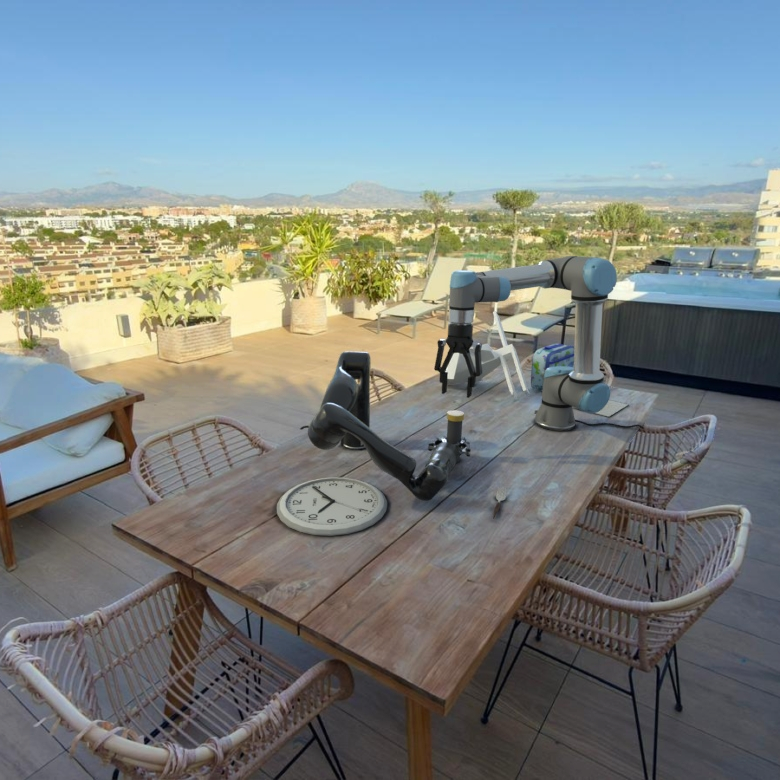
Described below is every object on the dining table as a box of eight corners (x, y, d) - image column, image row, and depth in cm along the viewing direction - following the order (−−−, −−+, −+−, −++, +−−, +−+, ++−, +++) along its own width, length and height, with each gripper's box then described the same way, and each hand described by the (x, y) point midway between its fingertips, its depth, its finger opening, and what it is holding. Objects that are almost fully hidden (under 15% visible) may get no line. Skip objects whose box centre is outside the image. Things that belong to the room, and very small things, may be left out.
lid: (467, 420, 167) (467, 414, 166) (452, 422, 164) (453, 416, 164) (457, 414, 171) (457, 409, 171) (443, 417, 169) (443, 411, 168)
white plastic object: (461, 429, 252) (437, 405, 227) (444, 352, 274) (420, 323, 250) (535, 404, 240) (518, 377, 215) (510, 326, 262) (492, 293, 237)
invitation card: (608, 416, 214) (573, 407, 224) (608, 416, 214) (573, 408, 224) (628, 404, 229) (594, 396, 238) (628, 405, 229) (594, 397, 238)
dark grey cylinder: (462, 461, 171) (465, 415, 166) (450, 464, 169) (453, 417, 164) (454, 455, 175) (457, 411, 170) (442, 458, 173) (445, 413, 168)
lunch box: (547, 395, 239) (552, 351, 233) (526, 390, 247) (530, 347, 240) (574, 384, 257) (579, 343, 251) (554, 380, 264) (558, 339, 258)
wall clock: (392, 527, 129) (268, 531, 127) (391, 533, 130) (269, 537, 127) (383, 473, 158) (282, 475, 155) (383, 478, 158) (282, 480, 156)
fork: (488, 519, 137) (488, 512, 136) (497, 492, 151) (498, 485, 151) (498, 521, 136) (498, 514, 135) (507, 493, 150) (507, 487, 150)
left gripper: (420, 466, 161) (434, 445, 176) (466, 473, 156) (476, 452, 172) (421, 443, 158) (435, 424, 174) (467, 450, 154) (478, 430, 169)
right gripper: (497, 324, 158) (491, 396, 164) (433, 318, 166) (430, 387, 173) (490, 328, 151) (484, 402, 158) (424, 321, 159) (422, 393, 166)
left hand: (455, 438), depth 173 cm, fingers open, 5 cm apart
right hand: (456, 394), depth 165 cm, fingers open, 7 cm apart
